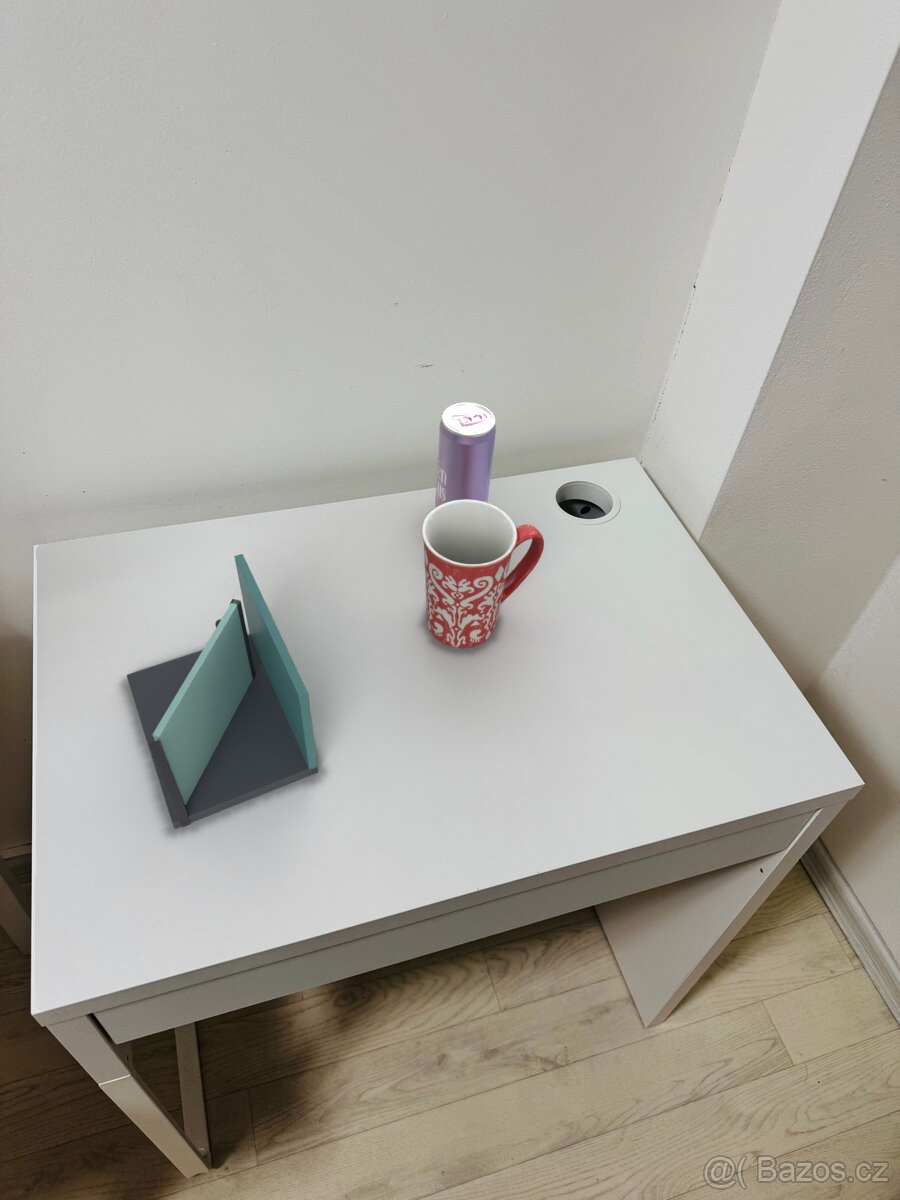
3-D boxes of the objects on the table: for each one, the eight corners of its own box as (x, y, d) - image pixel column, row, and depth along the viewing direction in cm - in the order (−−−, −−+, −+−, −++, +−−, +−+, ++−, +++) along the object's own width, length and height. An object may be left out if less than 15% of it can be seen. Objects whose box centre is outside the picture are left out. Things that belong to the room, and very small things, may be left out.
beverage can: (492, 533, 98) (506, 429, 86) (445, 545, 96) (452, 440, 85) (473, 501, 101) (483, 396, 90) (427, 511, 100) (431, 406, 88)
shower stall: (175, 830, 71) (142, 754, 62) (129, 682, 81) (95, 596, 72) (318, 773, 76) (308, 694, 66) (258, 638, 86) (242, 553, 76)
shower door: (161, 798, 72) (132, 729, 64) (233, 669, 81) (215, 594, 73) (186, 805, 72) (160, 736, 63) (256, 675, 81) (241, 600, 73)
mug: (433, 665, 85) (440, 574, 74) (406, 601, 90) (409, 508, 80) (547, 637, 88) (568, 546, 78) (514, 576, 93) (530, 484, 83)
